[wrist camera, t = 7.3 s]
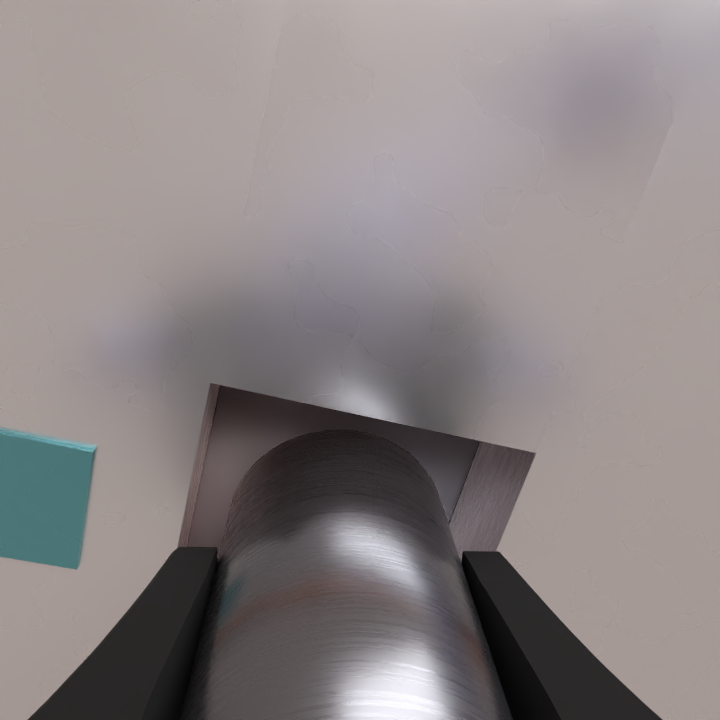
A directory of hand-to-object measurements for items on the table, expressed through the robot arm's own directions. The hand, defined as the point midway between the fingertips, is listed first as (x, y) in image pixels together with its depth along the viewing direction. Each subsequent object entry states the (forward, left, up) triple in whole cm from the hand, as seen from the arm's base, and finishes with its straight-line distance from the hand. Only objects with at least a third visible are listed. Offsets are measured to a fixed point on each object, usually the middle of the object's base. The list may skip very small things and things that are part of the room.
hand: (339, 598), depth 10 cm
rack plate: (0, -2, -4) cm, 4 cm away
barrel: (0, 0, -2) cm, 2 cm away
